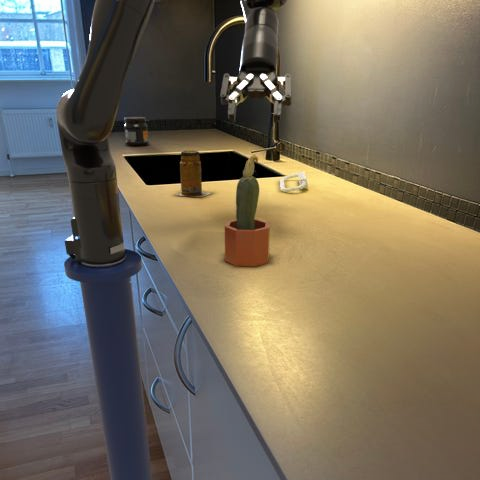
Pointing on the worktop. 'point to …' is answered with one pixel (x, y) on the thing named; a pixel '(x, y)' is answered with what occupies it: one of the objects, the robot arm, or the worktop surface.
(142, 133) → the supplement container
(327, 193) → the worktop surface
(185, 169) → the condiment
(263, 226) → the utensil pot
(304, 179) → the white open frame
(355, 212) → the worktop surface
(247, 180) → the vegetable
